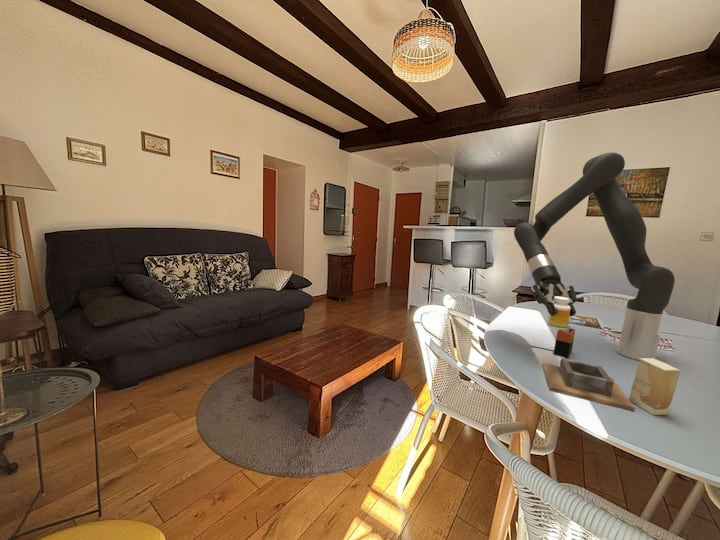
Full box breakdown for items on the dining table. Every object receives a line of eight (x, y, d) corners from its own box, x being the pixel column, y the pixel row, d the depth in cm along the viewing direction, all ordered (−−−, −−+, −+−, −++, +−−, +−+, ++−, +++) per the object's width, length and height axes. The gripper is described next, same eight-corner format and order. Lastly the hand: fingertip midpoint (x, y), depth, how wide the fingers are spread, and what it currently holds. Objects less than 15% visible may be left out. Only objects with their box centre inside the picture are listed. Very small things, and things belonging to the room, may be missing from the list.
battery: (571, 353, 105) (576, 327, 103) (567, 358, 100) (572, 331, 99) (557, 349, 108) (561, 323, 106) (553, 354, 103) (557, 327, 102)
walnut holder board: (612, 381, 86) (615, 365, 86) (634, 411, 72) (638, 393, 71) (541, 365, 94) (544, 351, 93) (549, 390, 80) (552, 373, 79)
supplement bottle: (570, 331, 90) (575, 300, 88) (551, 329, 91) (555, 299, 89) (562, 325, 95) (567, 296, 93) (544, 323, 96) (548, 294, 94)
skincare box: (627, 400, 77) (637, 357, 75) (642, 399, 77) (652, 357, 75) (653, 416, 71) (665, 369, 69) (669, 415, 71) (681, 369, 69)
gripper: (529, 263, 96) (549, 309, 87) (570, 264, 97) (594, 310, 88) (517, 276, 102) (535, 319, 93) (556, 277, 103) (577, 320, 94)
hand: (563, 314), depth 90 cm, fingers closed on supplement bottle, 5 cm apart
